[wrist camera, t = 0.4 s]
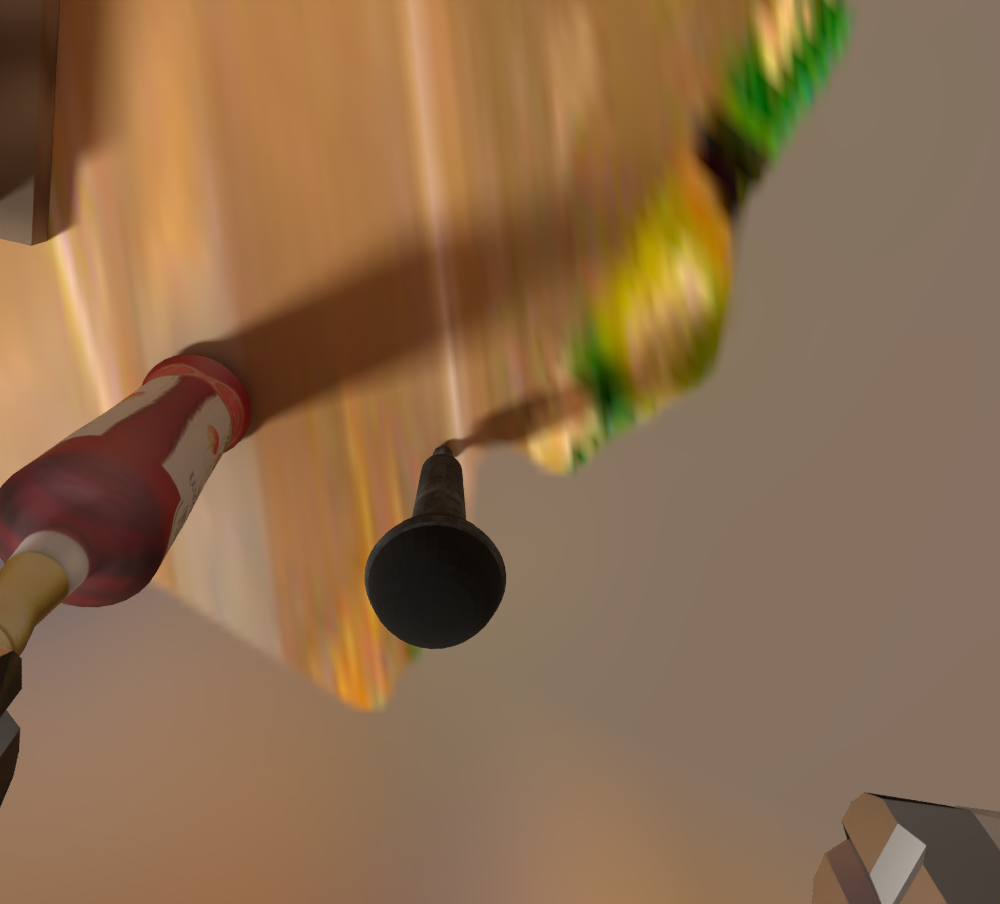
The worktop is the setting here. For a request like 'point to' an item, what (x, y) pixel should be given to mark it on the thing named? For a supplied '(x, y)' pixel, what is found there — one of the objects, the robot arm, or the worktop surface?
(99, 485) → the liquor
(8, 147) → the well board
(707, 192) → the worktop surface
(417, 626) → the microphone
